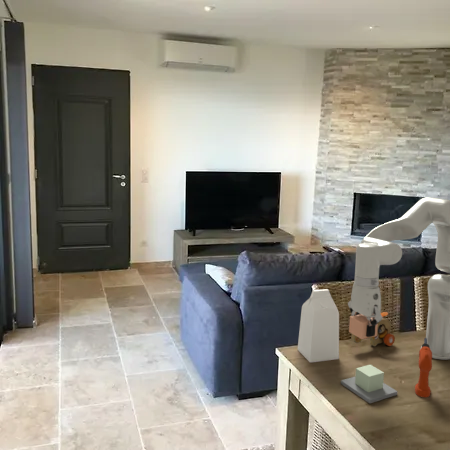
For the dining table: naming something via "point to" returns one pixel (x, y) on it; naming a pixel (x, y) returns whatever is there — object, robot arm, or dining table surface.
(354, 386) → the gray plate
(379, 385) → the sage block
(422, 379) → the toy drill
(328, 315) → the milk
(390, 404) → the dining table surface
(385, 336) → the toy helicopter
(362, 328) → the terracotta block
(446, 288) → the robot arm
